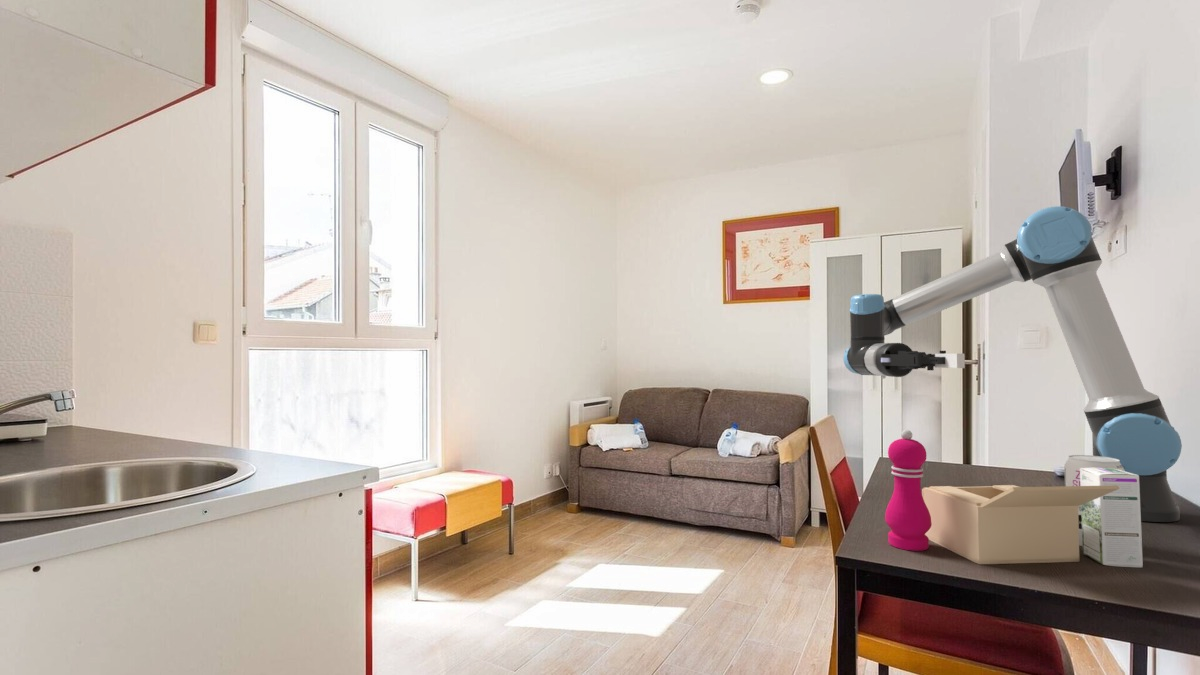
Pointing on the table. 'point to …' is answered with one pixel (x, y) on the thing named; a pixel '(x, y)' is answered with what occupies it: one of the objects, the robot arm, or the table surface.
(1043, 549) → the carton
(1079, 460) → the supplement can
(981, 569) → the table surface
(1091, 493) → the long flap
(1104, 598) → the table surface
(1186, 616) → the table surface
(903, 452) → the pepper mill
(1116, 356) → the robot arm
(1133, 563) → the syrup box
